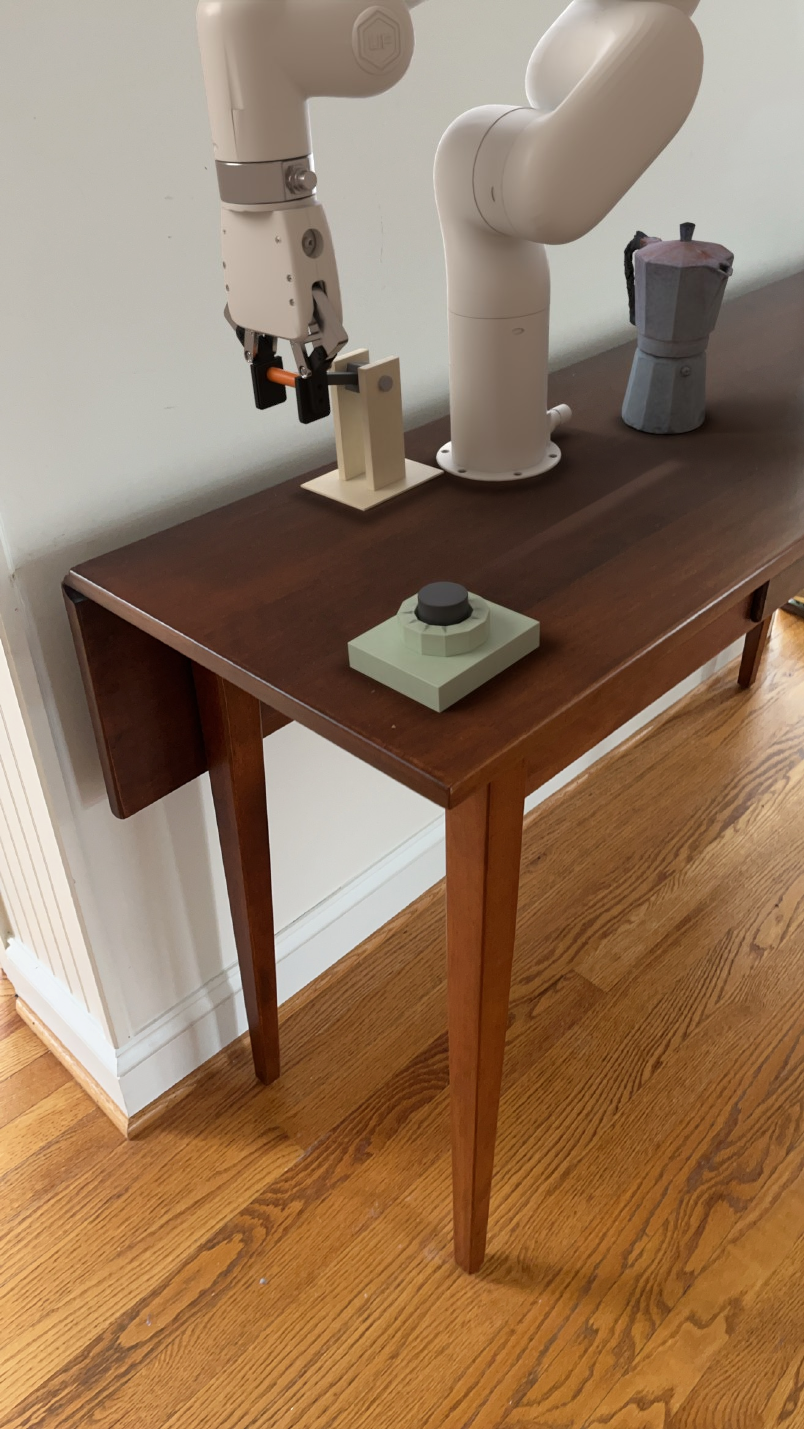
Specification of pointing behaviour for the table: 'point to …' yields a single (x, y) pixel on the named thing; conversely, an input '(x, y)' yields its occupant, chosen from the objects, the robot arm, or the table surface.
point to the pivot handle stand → (369, 437)
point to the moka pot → (672, 327)
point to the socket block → (443, 651)
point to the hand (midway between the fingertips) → (292, 410)
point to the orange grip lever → (334, 378)
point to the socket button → (443, 604)
